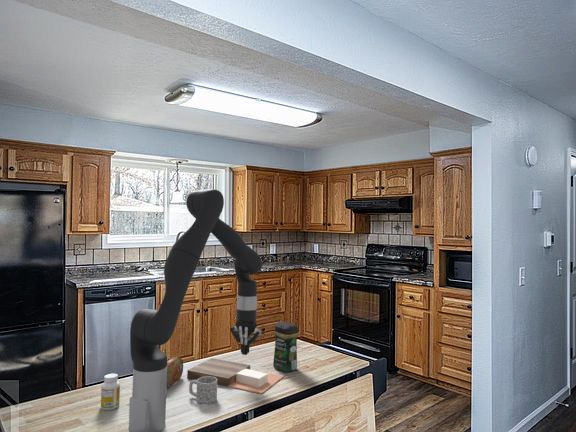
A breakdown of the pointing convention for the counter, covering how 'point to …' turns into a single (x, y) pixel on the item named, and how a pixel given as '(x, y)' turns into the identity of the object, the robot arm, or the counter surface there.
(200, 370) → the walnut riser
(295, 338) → the coffee jar
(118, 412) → the counter surface
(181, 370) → the tin
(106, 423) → the counter surface
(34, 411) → the counter surface
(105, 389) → the supplement bottle
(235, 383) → the terracotta mat
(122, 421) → the counter surface
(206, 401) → the mug
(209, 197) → the robot arm
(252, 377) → the cream block
